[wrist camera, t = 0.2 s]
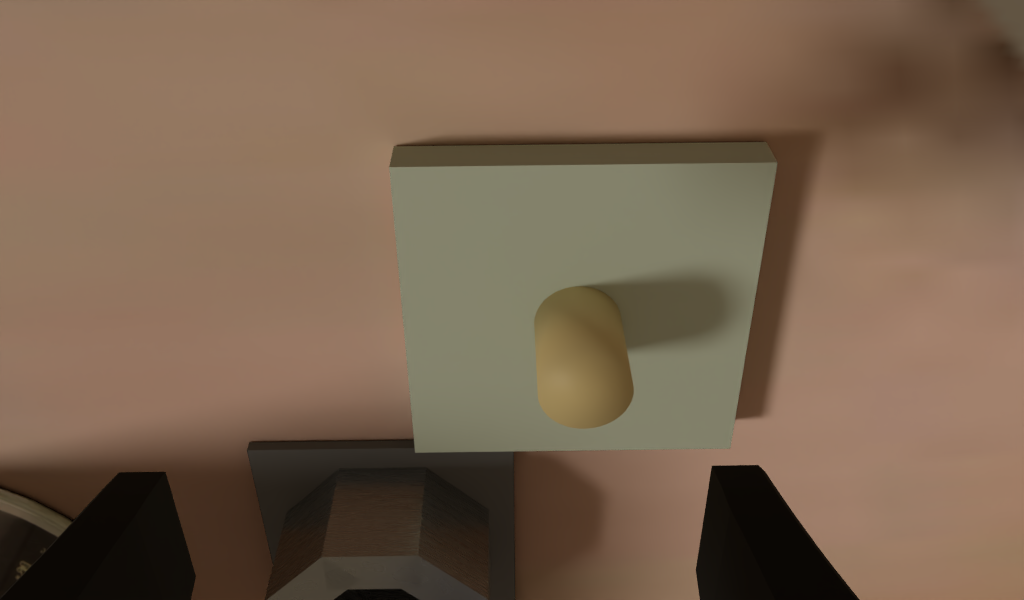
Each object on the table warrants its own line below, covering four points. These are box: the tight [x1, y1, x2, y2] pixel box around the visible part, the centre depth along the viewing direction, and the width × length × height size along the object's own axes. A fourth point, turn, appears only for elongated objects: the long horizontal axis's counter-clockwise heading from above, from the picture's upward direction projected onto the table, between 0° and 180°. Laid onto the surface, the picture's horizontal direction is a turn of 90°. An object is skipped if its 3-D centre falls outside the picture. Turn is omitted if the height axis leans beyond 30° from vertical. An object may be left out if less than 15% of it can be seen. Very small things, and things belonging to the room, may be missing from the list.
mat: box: [247, 440, 515, 600], centre depth 27 cm, size 7×7×1 cm
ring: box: [265, 467, 491, 600], centre depth 25 cm, size 6×6×3 cm
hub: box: [389, 142, 778, 453], centre depth 21 cm, size 8×8×4 cm
